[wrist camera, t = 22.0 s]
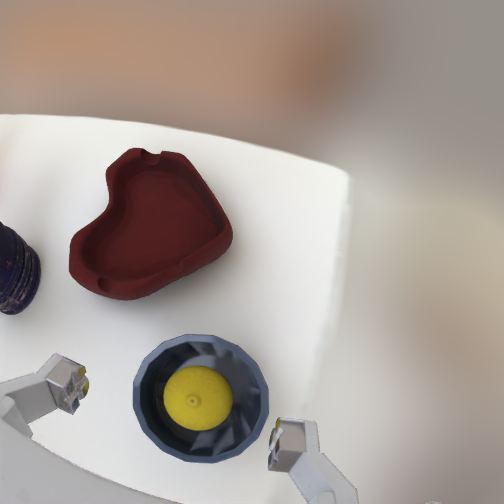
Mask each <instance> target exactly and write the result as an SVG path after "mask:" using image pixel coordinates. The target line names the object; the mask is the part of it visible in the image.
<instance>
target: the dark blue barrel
mask: <svg viewBox="0 0 504 504" xmlns="http://www.w3.org/2000/svg"><path fill="white" fill-rule="evenodd" d="M40 274H41V268H40V261H39V258H38V255H37V254H36V252H35V251H34V250H33V249H32V248H31V247H30V246H28V245H27V243H26V242H25V241H24V240H23V239H22V238H21V237H20V236H19V235H18V234H17V233H16V232H15V231H14V230H13V229H11V228H10V227H7V226H4V225H3V224H2V223H1V222H0V311H1V312H2V313H5V314H7V315H15V314H18V313H20V312H21V311H23V310H24V309H25V308H26V307H27V306H28V305H29V304H30V302H31V301H32V300H33V298H34V296H35V294H36V291H37V289H38V285H39V282H40Z"/></svg>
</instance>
